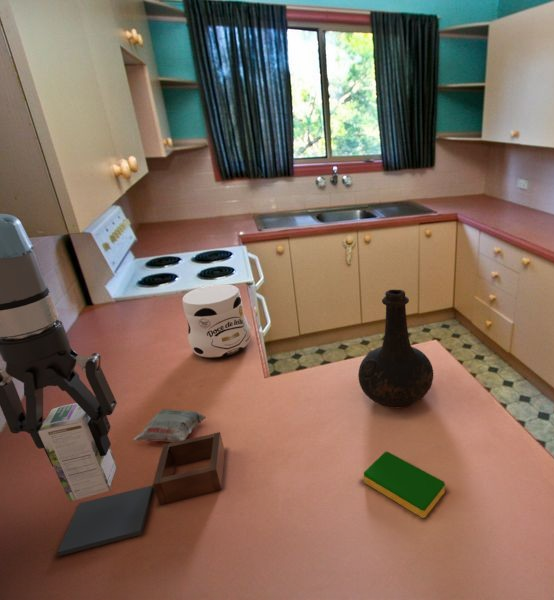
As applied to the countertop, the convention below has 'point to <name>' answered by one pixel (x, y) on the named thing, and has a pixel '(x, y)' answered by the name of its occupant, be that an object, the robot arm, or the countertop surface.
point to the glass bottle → (395, 361)
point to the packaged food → (170, 426)
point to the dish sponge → (405, 483)
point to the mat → (107, 520)
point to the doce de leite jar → (216, 321)
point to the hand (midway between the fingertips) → (82, 454)
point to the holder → (192, 481)
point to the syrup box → (76, 453)
